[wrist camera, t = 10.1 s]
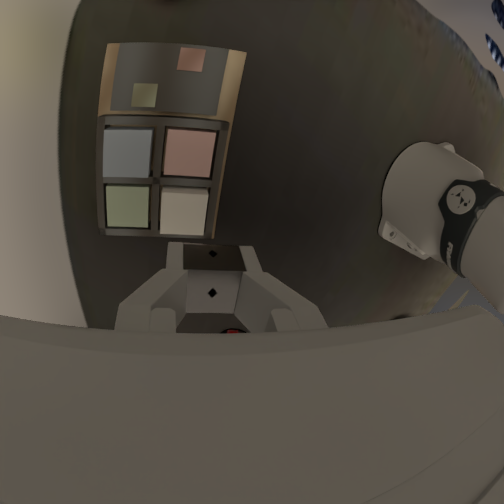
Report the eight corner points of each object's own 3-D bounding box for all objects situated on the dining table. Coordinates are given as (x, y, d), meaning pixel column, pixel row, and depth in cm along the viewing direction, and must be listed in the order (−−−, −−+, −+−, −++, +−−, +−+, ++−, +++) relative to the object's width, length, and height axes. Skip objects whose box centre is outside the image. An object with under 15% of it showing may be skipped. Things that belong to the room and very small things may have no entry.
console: (244, 53, 21) (255, 48, 18) (212, 234, 32) (217, 254, 28) (110, 45, 17) (98, 38, 14) (101, 229, 28) (92, 250, 24)
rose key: (213, 129, 24) (216, 133, 22) (207, 171, 26) (209, 177, 25) (169, 126, 23) (168, 129, 21) (165, 168, 25) (163, 174, 23)
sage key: (151, 180, 25) (148, 187, 24) (149, 218, 27) (147, 227, 26) (110, 179, 24) (106, 186, 22) (111, 217, 26) (107, 226, 25)
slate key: (154, 127, 22) (151, 130, 20) (150, 171, 24) (148, 177, 22) (110, 126, 20) (104, 130, 19) (108, 170, 22) (102, 176, 21)
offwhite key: (206, 187, 26) (208, 195, 24) (201, 225, 28) (203, 235, 27) (163, 184, 25) (161, 192, 23) (161, 223, 27) (160, 233, 25)
